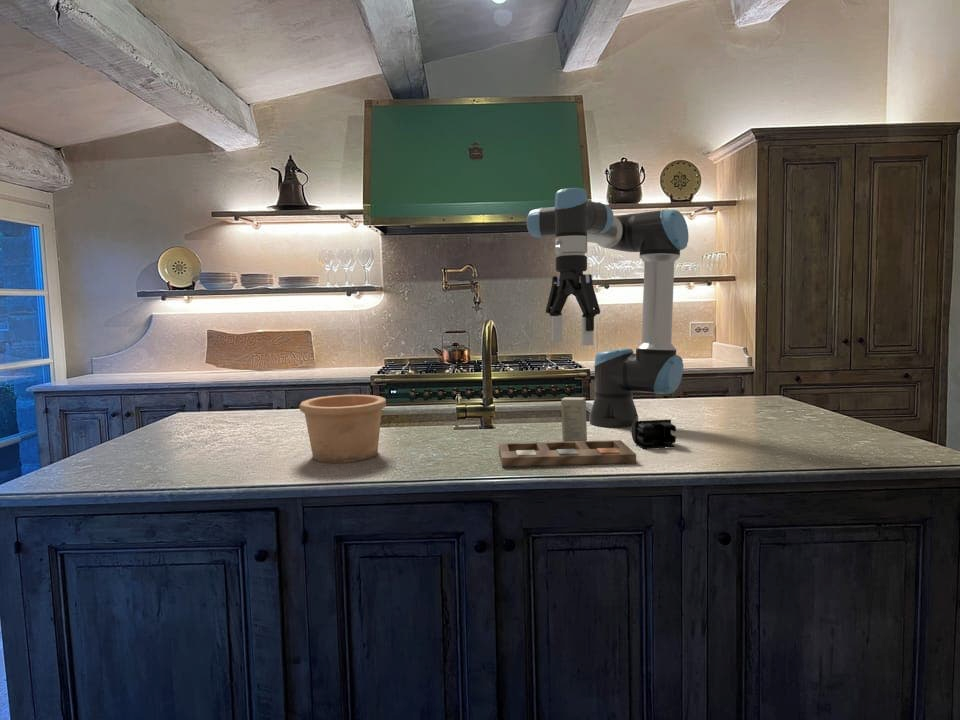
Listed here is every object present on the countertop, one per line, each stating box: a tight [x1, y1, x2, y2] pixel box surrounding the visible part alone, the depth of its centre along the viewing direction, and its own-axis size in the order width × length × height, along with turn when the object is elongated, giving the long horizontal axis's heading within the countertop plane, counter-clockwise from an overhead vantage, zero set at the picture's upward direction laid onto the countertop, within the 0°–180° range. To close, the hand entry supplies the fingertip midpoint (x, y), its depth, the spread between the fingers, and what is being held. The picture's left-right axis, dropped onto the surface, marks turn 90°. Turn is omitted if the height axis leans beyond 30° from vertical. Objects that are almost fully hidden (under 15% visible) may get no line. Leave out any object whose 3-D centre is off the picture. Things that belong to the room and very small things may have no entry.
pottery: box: [299, 394, 387, 464], centre depth 167 cm, size 22×22×14 cm
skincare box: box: [560, 396, 588, 442], centre depth 177 cm, size 6×4×12 cm
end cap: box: [631, 419, 677, 450], centre depth 171 cm, size 10×7×7 cm
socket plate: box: [498, 439, 637, 469], centre depth 160 cm, size 32×15×3 cm, turn 92°
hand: (571, 343), depth 156 cm, fingers open, 13 cm apart
